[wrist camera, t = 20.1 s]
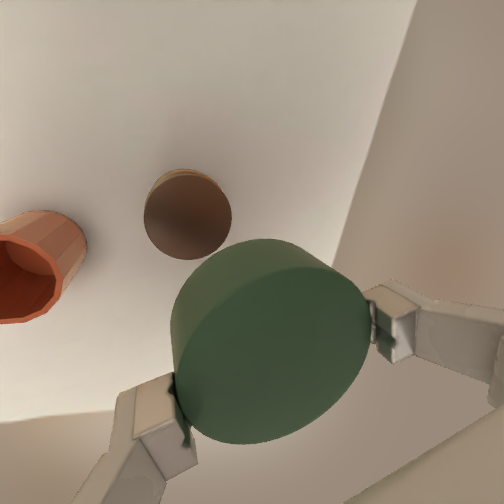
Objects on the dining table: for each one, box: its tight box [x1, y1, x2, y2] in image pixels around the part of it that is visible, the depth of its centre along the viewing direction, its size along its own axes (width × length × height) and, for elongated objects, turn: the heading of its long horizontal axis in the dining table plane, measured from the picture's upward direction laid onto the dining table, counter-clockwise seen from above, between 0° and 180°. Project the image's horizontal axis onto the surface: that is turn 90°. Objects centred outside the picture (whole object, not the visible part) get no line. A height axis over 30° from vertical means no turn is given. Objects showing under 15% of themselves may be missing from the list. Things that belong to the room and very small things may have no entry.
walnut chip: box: [144, 173, 232, 260], centre depth 20 cm, size 6×6×3 cm
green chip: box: [170, 239, 372, 445], centre depth 9 cm, size 6×6×3 cm
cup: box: [0, 210, 87, 324], centre depth 18 cm, size 6×6×7 cm
